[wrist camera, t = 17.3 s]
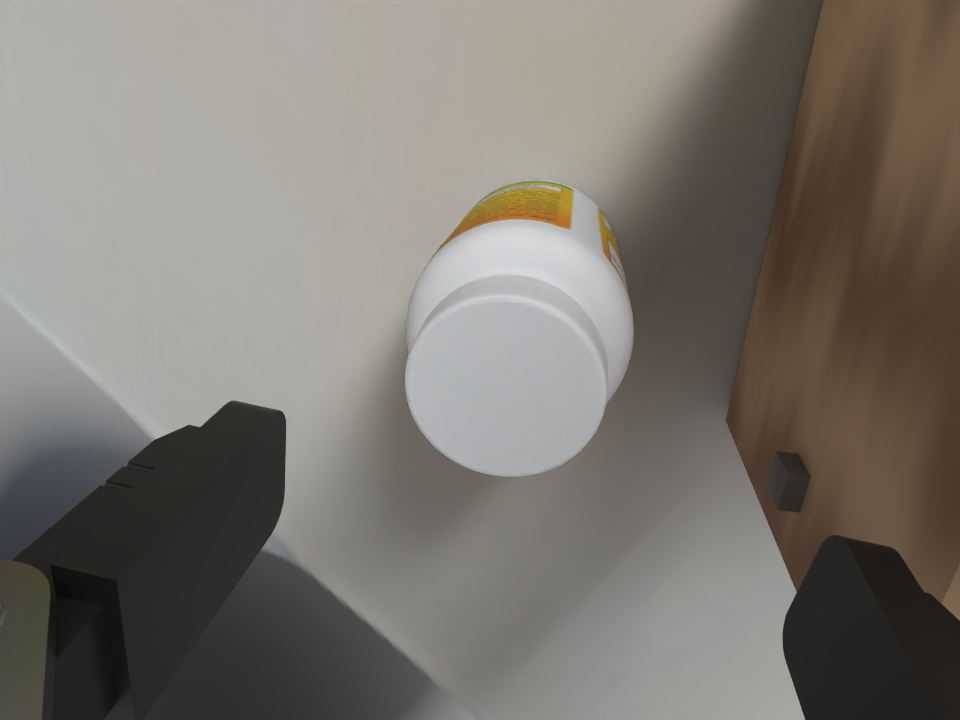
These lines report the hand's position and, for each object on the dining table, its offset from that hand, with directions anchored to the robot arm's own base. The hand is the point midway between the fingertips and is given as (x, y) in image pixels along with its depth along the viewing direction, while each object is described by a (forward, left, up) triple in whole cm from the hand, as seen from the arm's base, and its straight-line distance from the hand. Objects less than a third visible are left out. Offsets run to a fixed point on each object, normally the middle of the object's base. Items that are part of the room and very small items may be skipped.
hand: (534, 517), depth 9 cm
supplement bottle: (+1, 0, -13) cm, 13 cm away
